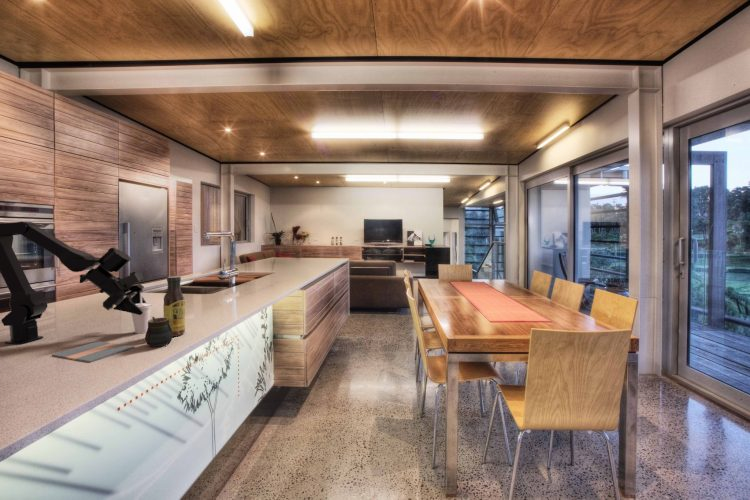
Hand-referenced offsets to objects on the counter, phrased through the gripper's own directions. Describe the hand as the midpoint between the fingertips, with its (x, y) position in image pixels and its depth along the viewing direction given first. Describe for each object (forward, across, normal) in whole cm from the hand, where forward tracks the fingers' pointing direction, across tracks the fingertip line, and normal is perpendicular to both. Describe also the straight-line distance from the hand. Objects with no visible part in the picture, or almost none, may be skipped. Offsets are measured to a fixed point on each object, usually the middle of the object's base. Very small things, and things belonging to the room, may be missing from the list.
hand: (145, 311), depth 118 cm
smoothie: (+4, 0, +6) cm, 7 cm away
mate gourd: (+12, -17, -1) cm, 21 cm away
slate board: (0, -18, +10) cm, 21 cm away
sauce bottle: (+13, -7, -2) cm, 15 cm away
